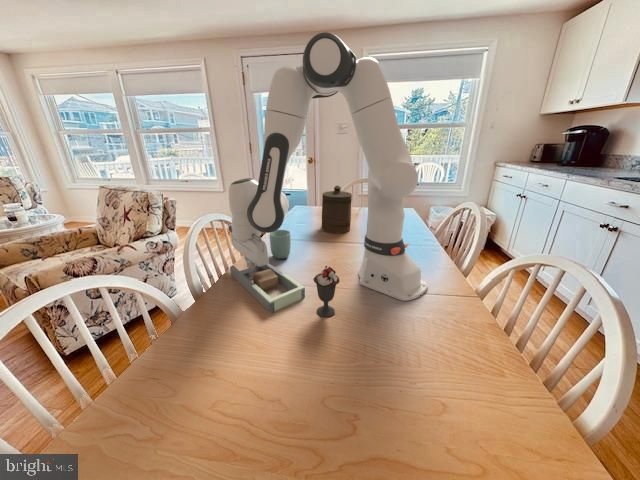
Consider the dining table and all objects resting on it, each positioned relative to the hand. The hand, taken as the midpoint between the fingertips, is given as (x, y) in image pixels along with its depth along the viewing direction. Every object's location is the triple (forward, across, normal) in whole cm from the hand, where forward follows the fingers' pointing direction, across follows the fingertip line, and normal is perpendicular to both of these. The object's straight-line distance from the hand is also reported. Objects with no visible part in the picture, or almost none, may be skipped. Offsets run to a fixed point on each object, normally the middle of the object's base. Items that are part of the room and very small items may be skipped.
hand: (251, 268), depth 87 cm
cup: (+2, +5, -15) cm, 16 cm away
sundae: (+2, -32, -6) cm, 33 cm away
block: (+2, -10, 0) cm, 10 cm away
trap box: (+2, -10, 0) cm, 10 cm away
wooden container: (+2, +16, -55) cm, 57 cm away
